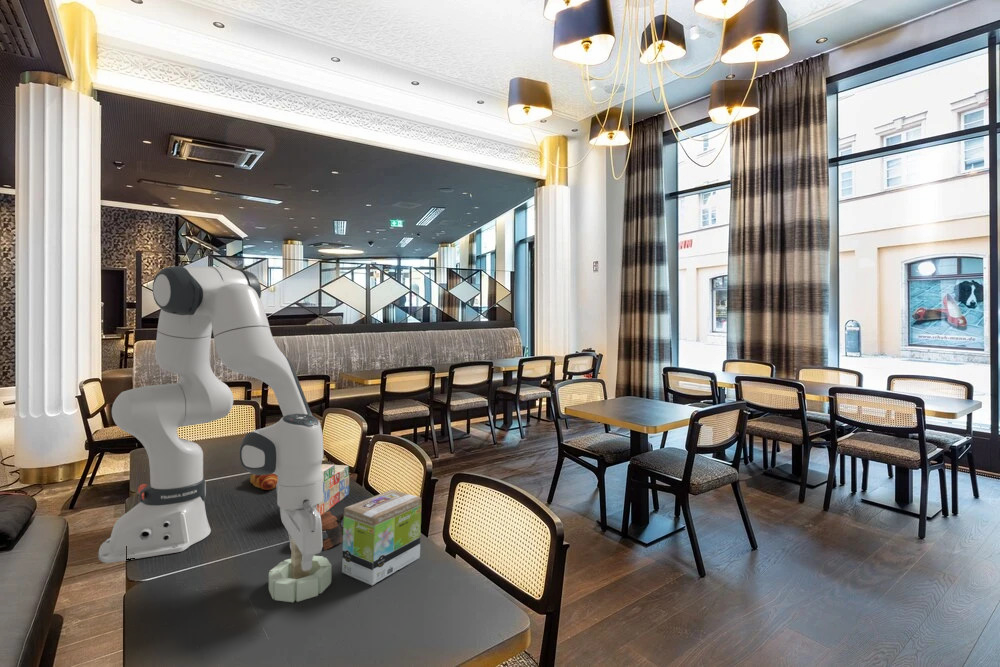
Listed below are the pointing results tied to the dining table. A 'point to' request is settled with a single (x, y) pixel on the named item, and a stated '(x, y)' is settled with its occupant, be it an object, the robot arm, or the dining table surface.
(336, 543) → the pottery mug
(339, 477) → the stack of blocks
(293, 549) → the wooden block
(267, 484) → the croissant
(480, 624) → the dining table surface
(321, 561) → the sage ring
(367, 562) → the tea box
